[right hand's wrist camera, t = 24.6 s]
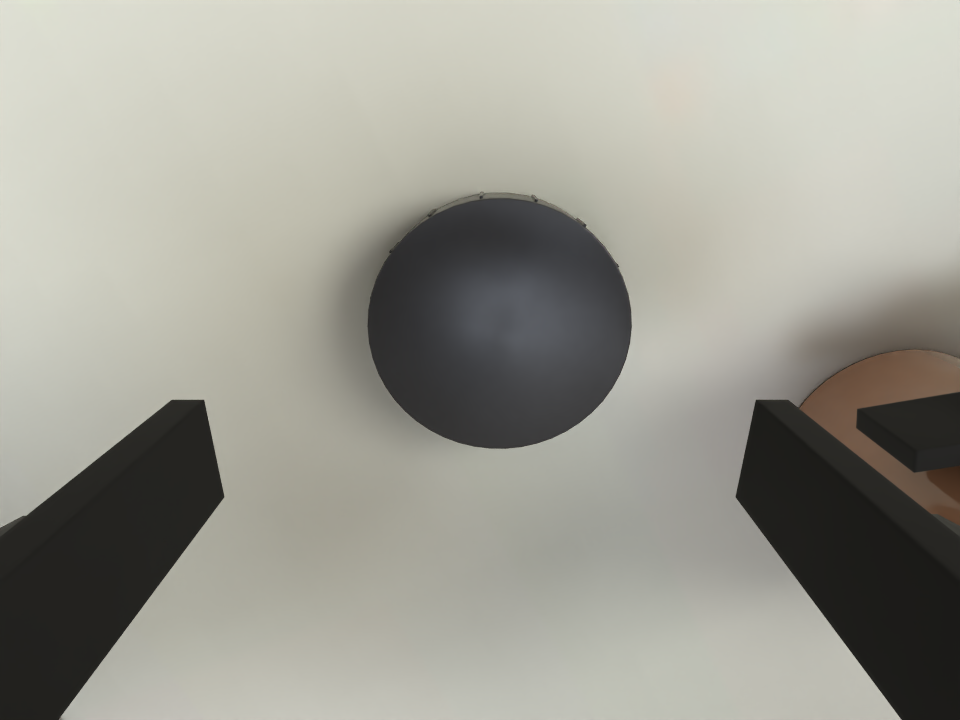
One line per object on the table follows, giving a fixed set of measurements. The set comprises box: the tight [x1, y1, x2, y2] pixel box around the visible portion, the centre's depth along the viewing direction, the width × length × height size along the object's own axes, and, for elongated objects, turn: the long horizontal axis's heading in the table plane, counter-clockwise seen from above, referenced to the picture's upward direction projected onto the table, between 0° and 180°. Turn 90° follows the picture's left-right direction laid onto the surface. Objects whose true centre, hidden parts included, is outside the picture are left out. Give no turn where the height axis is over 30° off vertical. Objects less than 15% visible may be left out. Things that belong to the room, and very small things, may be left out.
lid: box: [368, 192, 632, 449], centre depth 21 cm, size 10×10×2 cm
